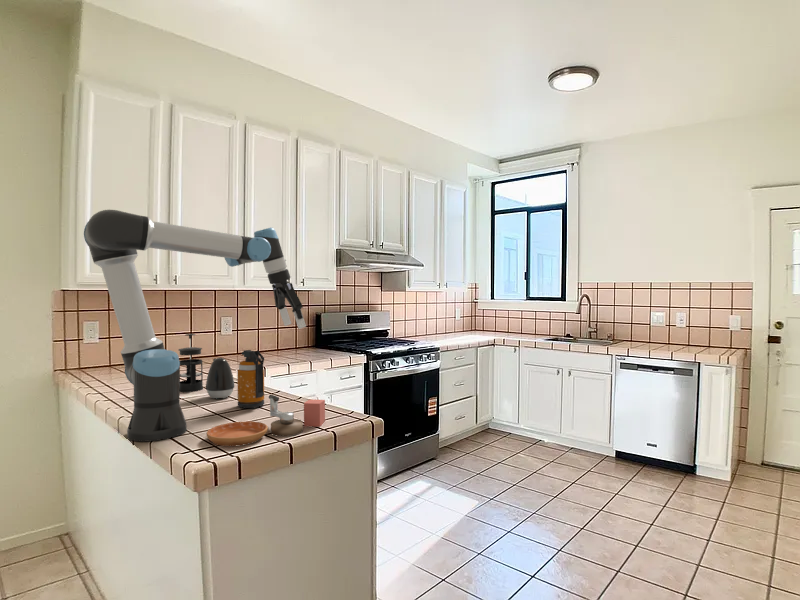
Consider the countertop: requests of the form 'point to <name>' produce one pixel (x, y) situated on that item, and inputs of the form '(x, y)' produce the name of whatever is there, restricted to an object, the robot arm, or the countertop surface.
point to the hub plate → (286, 428)
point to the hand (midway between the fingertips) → (295, 326)
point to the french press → (190, 369)
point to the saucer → (237, 433)
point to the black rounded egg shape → (219, 379)
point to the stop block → (314, 412)
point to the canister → (251, 380)
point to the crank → (284, 416)
